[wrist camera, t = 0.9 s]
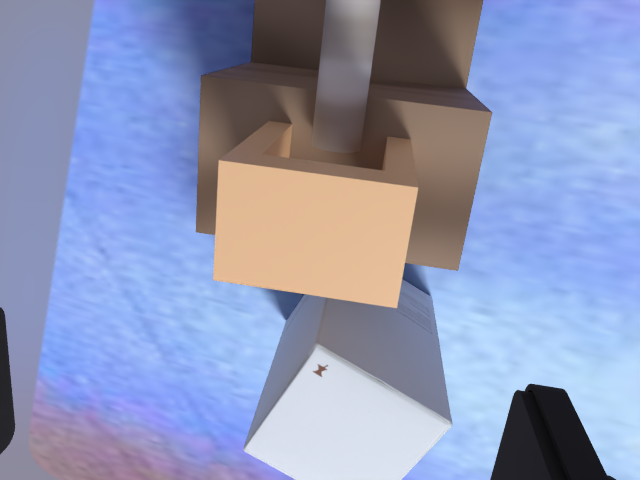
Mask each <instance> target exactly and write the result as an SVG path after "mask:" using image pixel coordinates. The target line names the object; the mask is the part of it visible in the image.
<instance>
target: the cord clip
mask: <svg viewBox="0 0 640 480" xmlns="http://www.w3.org/2000/svg"><path fill="white" fill-rule="evenodd" d="M291 134H292V124H289V123H281V122H274V121H268V122H267V123H266V124H264V125H263V126H262V127H261V128H259V129H258V130H257V131H255V132H254V133H253V134H252V135H250V136H249V137H248V138H247V139H245V140H244V141H243V142H241V143H240V144H239V145H238V146H236V147H235V148H234V149H232V150H231V151H230V152H229V153H227V154H226V155H225V156H224V157H222V158H221V159H220V160H219V166H218V187H217V209H216V231H215V253H214V275H213V280H216V281H222V282H229V283H235V284H242V285H248V286H255V287H261V288H268V289H274V290H281V291H287V292H294V293H301V294H307V295H314V296H320V297H327V298H333V299H340V300H346V301H353V302H359V303H366V304H372V305H379V306H385V307H392V308H397V305H398V300H399V294H400V288H401V283H402V277H403V271H404V266H405V260H406V255H407V249H408V243H409V238H410V232H411V226H412V221H413V215H414V210H415V204H416V198H417V193H418V182H417V175H416V168H415V162H414V155H413V148H412V142H411V139H403V138H395V137H388V136H387V141H386V147H385V154H384V160H383V167H382V170H375V169H368V168H360V167H353V166H346V165H338V164H331V163H324V162H316V161H309V160H302V159H294V158H289V156H290V145H291Z"/></svg>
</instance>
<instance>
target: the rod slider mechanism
mask: <svg viewBox="0 0 640 480" xmlns="http://www.w3.org/2000/svg"><path fill="white" fill-rule="evenodd" d="M482 4H483V0H255V6H254V22H253V38H252V54H251V62H249V63H245V64H242V65H238V66H234V67H231V68H227V69H223V70H219V71H216V72H212V73H208V74H205V75H201V93H200V123H199V154H198V185H197V215H196V232H198V233H205V234H212V235H215V231H216V209H217V187H218V166H219V160H220V159H221V158H222V157H224V156H225V155H226V154H227V153H229V152H230V151H231V150H232V149H234V148H235V147H236V146H238V145H239V144H240V143H241V142H243V141H244V140H245V139H247V138H248V137H249V136H250V135H252V134H253V133H254V132H255V131H257V130H258V129H259V128H261V127H262V126H263V125H264V124H266V123H267V122H268V121H274V122H281V123H289V124H292V134H291V145H290V156H289V158H294V159H302V160H309V161H316V162H324V163H331V164H338V165H346V166H353V167H360V168H368V169H375V170H382V167H383V160H384V154H385V147H386V141H387V136H388V137H395V138H403V139H411V142H412V148H413V155H414V162H415V168H416V175H417V182H418V193H417V198H416V204H415V210H414V215H413V221H412V226H411V232H410V238H409V243H408V249H407V255H406V260H405V263H409V264H416V265H423V266H429V267H436V268H443V269H450V270H456V271H458V268H459V264H460V259H461V255H462V250H463V245H464V241H465V236H466V231H467V227H468V222H469V217H470V213H471V208H472V204H473V199H474V194H475V190H476V185H477V180H478V176H479V171H480V166H481V162H482V157H483V153H484V148H485V143H486V139H487V134H488V129H489V125H490V120H491V115H492V112H491V111H490V110H489V109H488V108H487V107H486V106H485V105H483V104H482V103H481V102H480V101H479V100H478V99H477V98H476V97H475V96H473V95H472V94H471V93H470V92H469V91H468V90H467V89H466V86H467V81H468V76H469V71H470V66H471V60H472V55H473V50H474V45H475V40H476V35H477V30H478V25H479V20H480V15H481V10H482Z"/></svg>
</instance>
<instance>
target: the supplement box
mask: <svg viewBox="0 0 640 480" xmlns="http://www.w3.org/2000/svg"><path fill="white" fill-rule="evenodd" d="M451 427H452V419H451V414H450V409H449V402H448V396H447V390H446V384H445V377H444V371H443V364H442V358H441V352H440V345H439V338H438V332H437V326H436V320H435V314H434V307H433V301H432V297H431V296H429V295H427V294H426V293H424V292H422V291H421V290H419V289H418V288H416V287H415V286H413V285H411V284H410V283H408V282H406V281H405V280H403V279H402V283H401V288H400V294H399V300H398V305H397V308H392V307H385V306H379V305H372V304H366V303H359V302H353V301H346V300H340V299H333V298H327V297H320V296H314V295H307V294H304V296H303V297H302V299H301V300H300V301H299V303H298V304H297V306H296V307H295V309H294V310H293V312H292V313H291V315H290V316H289V318H288V319H287V321H286V323H285V326H284V329H283V332H282V335H281V338H280V341H279V344H278V347H277V350H276V353H275V356H274V359H273V362H272V365H271V368H270V371H269V374H268V377H267V379H266V382H265V385H264V388H263V391H262V394H261V397H260V400H259V403H258V406H257V409H256V412H255V415H254V418H253V421H252V424H251V427H250V430H249V433H248V436H247V439H246V442H245V445H244V451H245V452H246V453H248V454H250V455H252V456H254V457H255V458H257V459H259V460H261V461H263V462H265V463H266V464H268V465H270V466H272V467H274V468H276V469H277V470H279V471H281V472H283V473H285V474H286V475H288V476H290V477H292V478H293V479H295V480H402V478H403V477H404V476H405V475H406V474H407V473H408V472H409V471H410V470H411V469H412V468H413V467H414V465H415V464H416V463H417V462H418V461H419V460H420V459H421V458H422V457H423V456H424V455H425V454H426V453H427V452H428V451H429V450H430V449H431V448H432V447H433V446H434V445H435V443H436V442H437V441H438V440H439V439H440V438H441V437H442V436H443V435H444V434H445V433H446V432H447V431H448V430H449V429H450V428H451Z"/></svg>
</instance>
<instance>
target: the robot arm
mask: <svg viewBox="0 0 640 480" xmlns="http://www.w3.org/2000/svg"><path fill="white" fill-rule="evenodd" d="M7 344H8V343H7V333H6V322H5V314H4V311H3V309H2V308H0V454H1V453H2V452H3V451H4V450H5V449H6V448H7V446H8V445H9V444H10V442H11V440H12V437H13V435H14V431H15V420H14V409H13V400H12V399H13V398H12V388H11V376H10V365H9V354H8V345H7ZM491 480H616V479H614V478H613V477H611V476H608V475H606V473H605V471H604V468H603V466H602V464H601V462H600V460H599V458H598V456H597V454H596V452H595V450H594V448H593V446H592V444H591V442H590V440H589V438H588V435H587V433H586V431H585V429H584V427H583V425H582V423H581V421H580V419H579V417H578V415H577V413H576V411H575V409H574V407H573V405H572V402H571V400H570V398H569V396H568V394H567V392H566V391H565V390H564V389H561V388H554V387H548V386H542V385H536V384H529V385H528V386H527V387H526V389H525V391H520V390H517V391H516V392H515V393H514V396H513V399H512V403H511V406H510V410H509V414H508V417H507V421H506V425H505V428H504V432H503V436H502V439H501V443H500V447H499V450H498V454H497V458H496V461H495V465H494V469H493V472H492V476H491Z"/></svg>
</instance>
